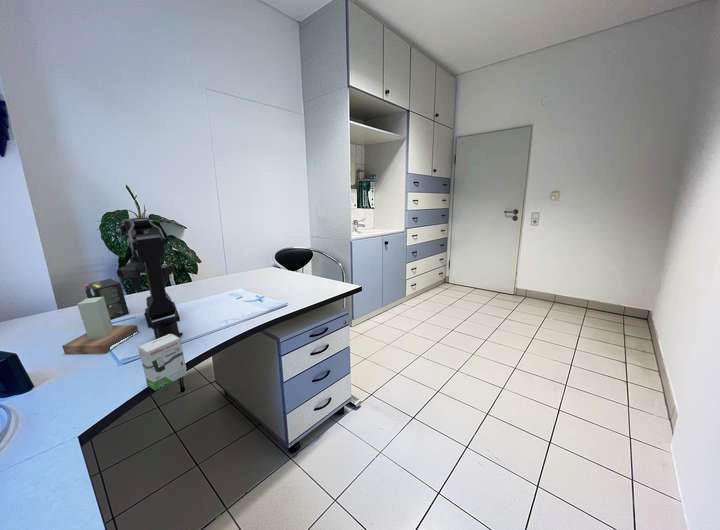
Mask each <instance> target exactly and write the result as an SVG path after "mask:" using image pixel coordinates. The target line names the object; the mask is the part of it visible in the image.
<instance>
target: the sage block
mask: <svg viewBox="0 0 720 530" xmlns="http://www.w3.org/2000/svg"><path fill="white" fill-rule="evenodd" d="M76 306H77V308H78V310H79V315H80V316H81V317H80V318H81V320H82V323H83V326H84V330H85V332H86V333H87V336H88V339H89V340H91V339H98V338H104V337H107V336H108V335H109V334H110V333H111V332H113V331H114V330H113V326H112V325H113V323H112V319H111V320H110V316H109V313H108V309H107V306H106V303H105V299H104V297H96V298H84V300H82V301H80V302H79V303H77V305H76Z"/></svg>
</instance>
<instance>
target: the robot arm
mask: <svg viewBox="0 0 720 530" xmlns="http://www.w3.org/2000/svg"><path fill="white" fill-rule="evenodd" d="M119 229H120V235H121V237H123V238H127V240H126V243H127V245H128V246H129V248H130V251H131V254H132V256H130V258H129V261H130V262H129V263H127V264H126V265H124V266H122V267H120V268H118V269H117V271H116V274H117V278H119V277H120V278H121V279H124V280H127V281H129V283H131V285H132V287H134V289H135V290H136V291H137V293H142V279H141V277H142V276H141V274H146V275H145V276H146V278H147V284H148V289H149V293H150V295H149V296H147V297H146V298H145V300H146V301H145V302H146V308H145V310H144V311H145V312H144V313H143V314H144V317H145V321H146V324H147V328H148V329H151V330H153V333H154V338H155V340H156V339H158V338H161V337H163V336H166V335H168V334H173V335H175V336H177V337H179V336H180V337H181V336H183V335H184V334H183V332H180V331H179V330H180V329H179V327H178V326H179V325H178V322H180V321H181V319H180V315H179V314H180V313H179V312H178V309H177V307H176V304H175V301H172V298H171V296H170V295H169V293H167V292H166V286H167V283H168V280H169V278H170V275H172V274H173V273H174V272H176V270H175V266H174V265H173V264H162V263H161V260H162V259H163V258H164V257H165V254H166V250H165V247H167V241H166V238H165V235H164V233H163V231H162V228H160V227H159V226H158V225H156V224H154V223H153V222H152V220H151V218H150V217H144V216H143V217H134V218H127V219H126V218H125V219H122V222H121V223H120V226H119ZM150 232H151V233H150ZM173 315H174V316H173ZM180 337H179V338H180Z"/></svg>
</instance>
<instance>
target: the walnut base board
mask: <svg viewBox="0 0 720 530" xmlns="http://www.w3.org/2000/svg"><path fill="white" fill-rule="evenodd" d="M112 326H113V330H114V331H113V332H111V333H110V334H109V335H108V336H107V337H104V338H98V339H91V340H89V339H88V336H87V333H83V334H82V335H80V336H78V337H76V338H75V339H72V340H71V341H69V342H67V343H65V344H63V345H62V350H63V353H64V355H85V354H86V355H98V354H99V355H106V354H107V353H109V352H111V351H110V347H111V346H112V345H114V344H116V343H118V342H120V341H121V340H123V339H125V338H127V337H129V336H131V335H133V334H134V333H136V332H138V333H139V328H138V325H137V324H125V325H123V324H121V325H113V324H112Z"/></svg>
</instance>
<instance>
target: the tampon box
mask: <svg viewBox="0 0 720 530" xmlns="http://www.w3.org/2000/svg"><path fill="white" fill-rule="evenodd" d="M83 287H84V291H85V294H86V299H88V298H96V297H104V299H105V303H106V306H107V309H108V313H109V316H110V320H111V321H112V320H113V319H118V318H120V317H122V316H127V315H129V314H130V312H129V309H128V305H127V301H126V298H125V293H124V291H123V288H122V283H121V282H120V281H118V280H116V279H113V278H107V279H103V280H98V281H93V282H90V283H85V284H84V285H83Z"/></svg>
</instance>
